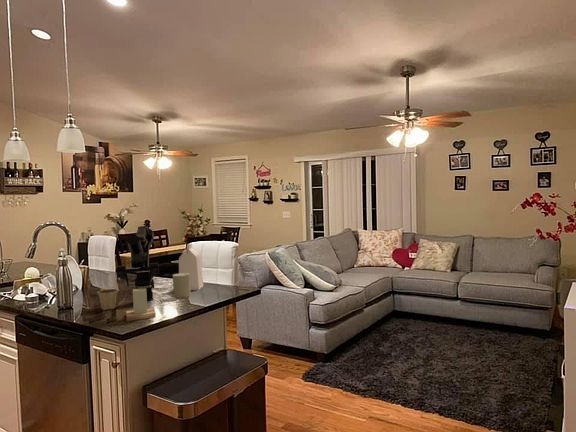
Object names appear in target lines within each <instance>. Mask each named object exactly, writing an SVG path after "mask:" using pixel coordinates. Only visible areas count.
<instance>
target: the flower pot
mask: <svg viewBox="0 0 576 432" xmlns="http://www.w3.org/2000/svg"><path fill="white" fill-rule="evenodd" d="M118 292H119V290H118V289H117V288H109V289H102V290H98V291H96V293H97V294H98V297H99V302H100V308H101V310H104V311H107V310H114V309H115V308H116V306H117V305H116V304H117V296H118V295H117V294H118Z"/></svg>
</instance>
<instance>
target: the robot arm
mask: <svg viewBox="0 0 576 432" xmlns="http://www.w3.org/2000/svg"><path fill="white" fill-rule="evenodd" d="M154 239H155V234H154V231H153V230H152V229H151V228H149V226H146V225H141V226H137V230H136V233H133V234H131V236H129V237H128V238H127V239H126V242H127V245H128V249H129V251H130V265H131V266H130V267H127V266H126V265H118V266H116V268H115V269H116V277H117V278H118V279H120V280H123V281H124V283H125V284H126V285H127V287H129V286H130V284H129V277H128V274H129V273H136V275H135V276H136V277H135V278H134V285H135V286H134V287H135V289H140V288H146V293H147V302H149V301H152V300H154V299H155V297H154V294H153V289H155V281H154V276H157V275H159V274H160V264H159V263H158V262H152V263H150V248H151V246H152V245H153V242H154Z"/></svg>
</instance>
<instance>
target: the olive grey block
mask: <svg viewBox="0 0 576 432" xmlns="http://www.w3.org/2000/svg"><path fill="white" fill-rule="evenodd" d="M172 286H173V287H172V288H173V297H174V298H177V299H178V298H179V299H180V298H186V297H187V296H188V297H191V296H192V293H191V291H192V290H190V274H189V273H179V272H178V273H174V274H172Z"/></svg>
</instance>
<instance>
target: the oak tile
mask: <svg viewBox="0 0 576 432" xmlns="http://www.w3.org/2000/svg"><path fill="white" fill-rule="evenodd" d="M125 312H126V315H125V316H126V322H129V321H137V320H145V319H153V318H156V317H157V315H156V310H155V307H147V312H146V313H137V314H134V309H130V310H126V311H125Z"/></svg>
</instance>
